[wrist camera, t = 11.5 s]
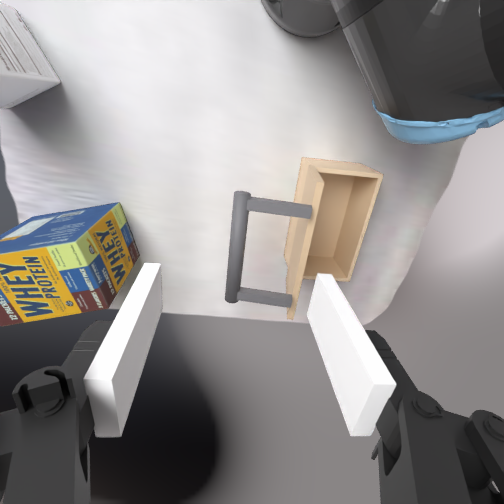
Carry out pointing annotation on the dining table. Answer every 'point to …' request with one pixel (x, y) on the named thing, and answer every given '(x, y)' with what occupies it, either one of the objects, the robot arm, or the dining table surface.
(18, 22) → the supplement box
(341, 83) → the dining table surface
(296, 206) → the flap
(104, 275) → the protein box
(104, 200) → the dining table surface
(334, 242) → the carton
